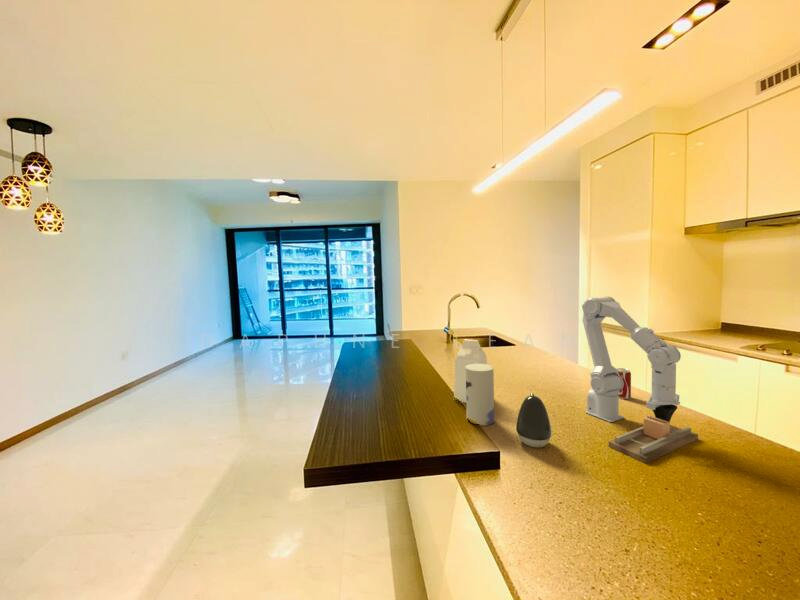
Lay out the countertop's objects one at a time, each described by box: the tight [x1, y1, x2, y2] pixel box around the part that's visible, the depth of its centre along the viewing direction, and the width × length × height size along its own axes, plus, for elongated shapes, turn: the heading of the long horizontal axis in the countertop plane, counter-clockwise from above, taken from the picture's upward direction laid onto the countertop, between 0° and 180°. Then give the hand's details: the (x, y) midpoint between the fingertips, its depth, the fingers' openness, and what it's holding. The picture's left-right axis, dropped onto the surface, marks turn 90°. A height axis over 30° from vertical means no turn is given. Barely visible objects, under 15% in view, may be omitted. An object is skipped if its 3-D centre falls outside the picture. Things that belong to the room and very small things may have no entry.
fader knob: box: [643, 415, 671, 439], centre depth 96 cm, size 5×4×5 cm
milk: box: [453, 338, 488, 403], centre depth 135 cm, size 12×12×26 cm
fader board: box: [608, 424, 699, 464], centre depth 95 cm, size 10×28×3 cm, turn 115°
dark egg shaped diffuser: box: [515, 392, 552, 448], centre depth 97 cm, size 10×10×15 cm
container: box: [465, 363, 495, 426], centre depth 115 cm, size 10×10×20 cm
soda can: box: [616, 367, 632, 400], centre depth 131 cm, size 5×5×12 cm
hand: (662, 426), depth 97 cm, fingers closed
